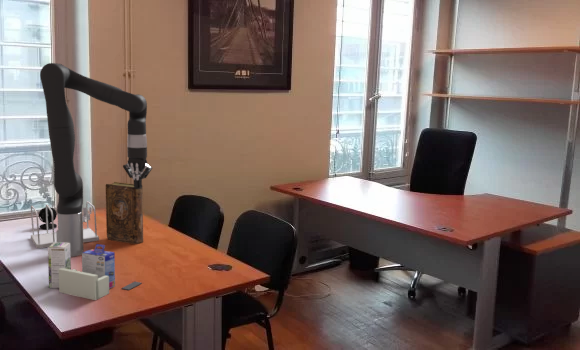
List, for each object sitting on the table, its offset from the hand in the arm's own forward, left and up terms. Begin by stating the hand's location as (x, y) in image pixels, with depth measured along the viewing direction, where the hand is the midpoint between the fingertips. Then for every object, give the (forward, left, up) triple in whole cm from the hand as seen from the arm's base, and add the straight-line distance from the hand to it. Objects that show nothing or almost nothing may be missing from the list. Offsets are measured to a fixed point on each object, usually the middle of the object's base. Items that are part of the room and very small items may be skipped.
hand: (137, 188), depth 221 cm
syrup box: (-2, -40, -27) cm, 48 cm away
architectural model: (-51, +33, -28) cm, 67 cm away
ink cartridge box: (+10, -35, -27) cm, 46 cm away
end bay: (+10, -41, -27) cm, 50 cm away
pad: (+20, -30, -27) cm, 45 cm away
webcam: (-62, +13, -27) cm, 69 cm away
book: (-17, +13, -27) cm, 35 cm away
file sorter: (-41, +2, -27) cm, 49 cm away
